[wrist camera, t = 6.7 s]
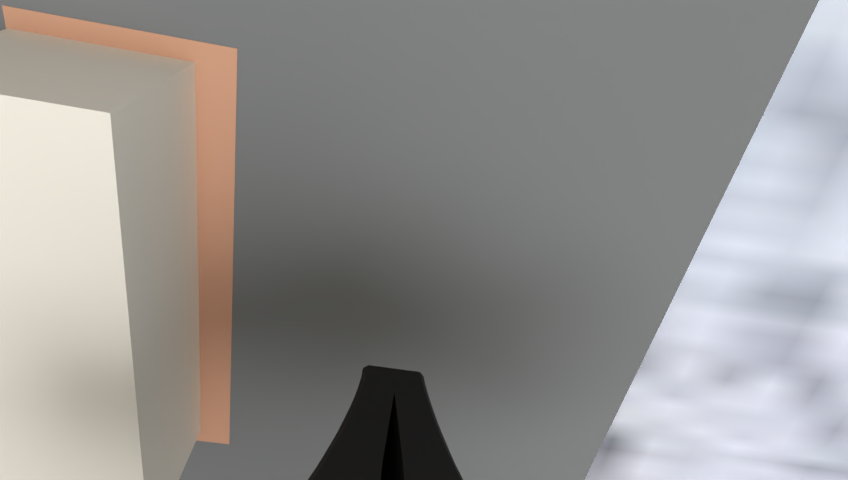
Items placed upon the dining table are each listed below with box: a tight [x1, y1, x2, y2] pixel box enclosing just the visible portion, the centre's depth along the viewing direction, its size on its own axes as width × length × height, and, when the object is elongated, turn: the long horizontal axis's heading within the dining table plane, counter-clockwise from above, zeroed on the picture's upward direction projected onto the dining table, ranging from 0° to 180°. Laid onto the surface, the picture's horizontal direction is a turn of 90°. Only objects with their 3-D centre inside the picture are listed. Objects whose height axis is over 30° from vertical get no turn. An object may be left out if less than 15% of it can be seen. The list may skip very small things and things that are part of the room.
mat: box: [0, 0, 819, 480], centre depth 16 cm, size 28×22×1 cm
